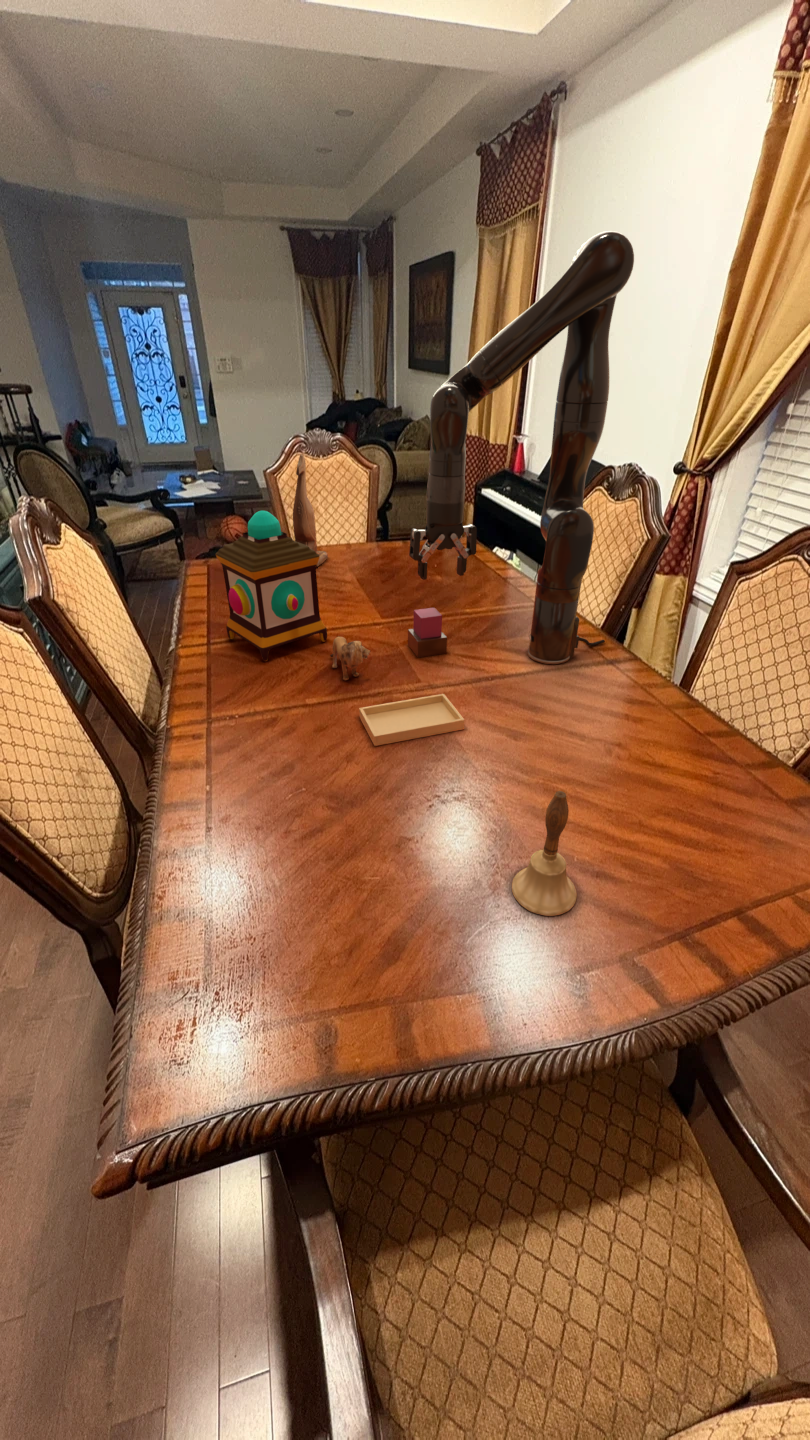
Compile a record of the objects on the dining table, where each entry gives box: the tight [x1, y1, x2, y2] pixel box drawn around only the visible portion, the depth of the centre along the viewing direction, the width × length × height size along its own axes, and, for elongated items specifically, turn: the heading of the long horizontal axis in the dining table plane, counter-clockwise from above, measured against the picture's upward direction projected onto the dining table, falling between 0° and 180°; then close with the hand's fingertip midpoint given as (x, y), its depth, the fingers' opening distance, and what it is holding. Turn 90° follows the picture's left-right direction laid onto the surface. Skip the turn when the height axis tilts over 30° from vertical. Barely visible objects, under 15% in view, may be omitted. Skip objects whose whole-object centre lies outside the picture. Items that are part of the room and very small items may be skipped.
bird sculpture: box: [292, 454, 329, 568], centre depth 187 cm, size 11×12×32 cm
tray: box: [358, 693, 466, 747], centre depth 113 cm, size 17×10×2 cm, turn 109°
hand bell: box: [511, 790, 578, 917], centre depth 75 cm, size 8×8×16 cm
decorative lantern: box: [215, 510, 328, 662], centre depth 137 cm, size 20×20×30 cm
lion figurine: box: [329, 636, 371, 681], centre depth 129 cm, size 15×5×9 cm, turn 33°
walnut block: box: [407, 628, 448, 658], centre depth 140 cm, size 7×7×4 cm
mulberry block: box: [412, 607, 443, 639], centre depth 137 cm, size 5×5×5 cm
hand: (442, 576), depth 130 cm, fingers open, 8 cm apart
